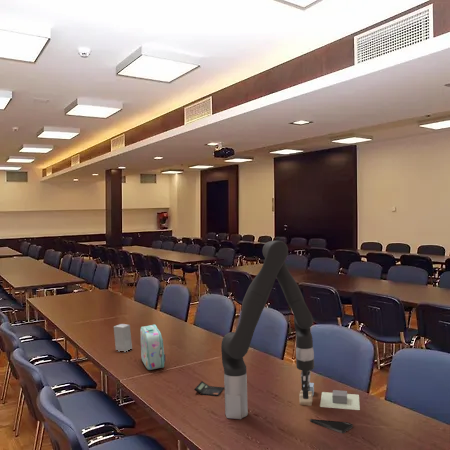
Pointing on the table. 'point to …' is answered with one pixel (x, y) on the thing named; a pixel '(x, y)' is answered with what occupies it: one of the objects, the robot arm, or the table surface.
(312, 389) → the blue block
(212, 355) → the table surface
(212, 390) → the calculator
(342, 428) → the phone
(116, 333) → the skincare box
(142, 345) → the lunch box
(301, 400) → the birch block
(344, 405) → the plate
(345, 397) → the base brick
